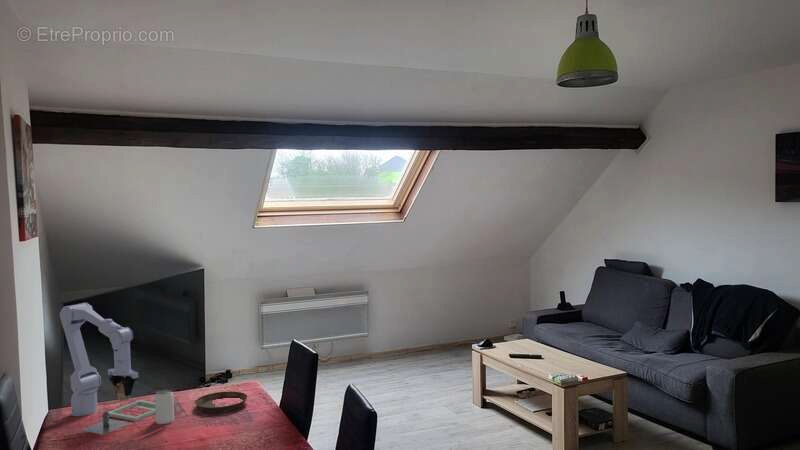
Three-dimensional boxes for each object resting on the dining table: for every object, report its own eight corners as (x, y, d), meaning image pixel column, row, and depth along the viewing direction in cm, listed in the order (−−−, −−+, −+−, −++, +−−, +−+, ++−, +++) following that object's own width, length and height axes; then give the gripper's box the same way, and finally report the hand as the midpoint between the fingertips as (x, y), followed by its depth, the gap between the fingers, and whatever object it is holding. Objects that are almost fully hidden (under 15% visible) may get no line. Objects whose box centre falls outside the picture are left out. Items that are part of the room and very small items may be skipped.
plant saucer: (209, 397, 256) (209, 389, 256) (255, 398, 253) (255, 391, 253) (185, 414, 235) (185, 406, 235) (235, 416, 232) (235, 408, 232)
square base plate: (80, 431, 219) (80, 415, 218) (109, 420, 229) (108, 404, 229) (103, 436, 213) (102, 419, 213) (131, 425, 224) (130, 409, 224)
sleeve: (111, 400, 228) (111, 385, 227) (124, 396, 233) (124, 381, 233) (119, 402, 226) (119, 386, 225) (132, 397, 231) (132, 382, 231)
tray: (106, 417, 233) (106, 412, 233) (140, 404, 247) (139, 400, 247) (135, 423, 226) (135, 418, 226) (168, 409, 241) (168, 405, 240)
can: (167, 426, 222) (166, 394, 222) (152, 425, 224) (151, 393, 223) (177, 420, 229) (176, 389, 228) (162, 419, 230) (161, 388, 230)
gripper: (100, 360, 229) (101, 395, 229) (126, 364, 222) (128, 400, 223) (116, 356, 235) (117, 390, 236) (142, 359, 229) (143, 394, 229)
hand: (123, 394), depth 230 cm, fingers closed on sleeve, 4 cm apart
